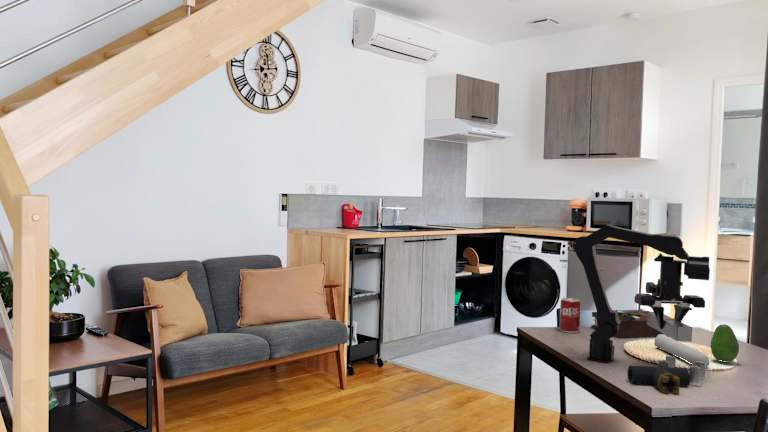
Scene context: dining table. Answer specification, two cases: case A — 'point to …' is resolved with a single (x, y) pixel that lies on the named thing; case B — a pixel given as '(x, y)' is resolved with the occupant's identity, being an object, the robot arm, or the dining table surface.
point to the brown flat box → (632, 325)
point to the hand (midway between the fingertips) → (667, 329)
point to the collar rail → (695, 372)
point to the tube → (680, 349)
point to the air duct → (671, 327)
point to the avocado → (724, 343)
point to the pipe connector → (659, 377)
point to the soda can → (570, 315)
